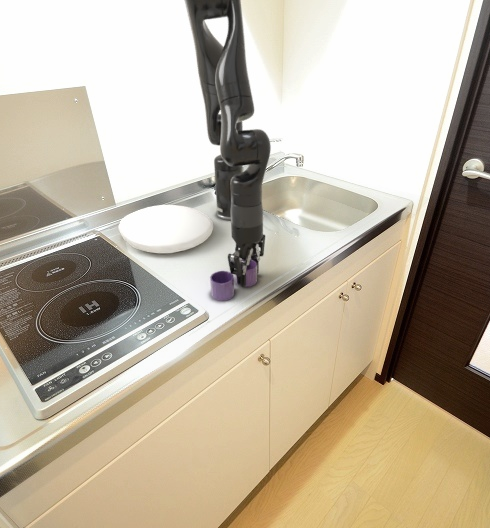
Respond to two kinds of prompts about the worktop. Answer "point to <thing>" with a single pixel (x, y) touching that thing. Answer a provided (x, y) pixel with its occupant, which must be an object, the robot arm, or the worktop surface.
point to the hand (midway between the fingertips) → (248, 278)
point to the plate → (165, 228)
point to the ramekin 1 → (222, 285)
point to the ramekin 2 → (250, 273)
